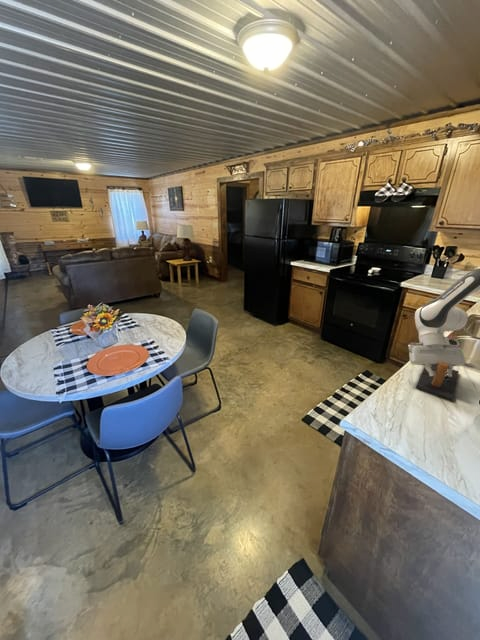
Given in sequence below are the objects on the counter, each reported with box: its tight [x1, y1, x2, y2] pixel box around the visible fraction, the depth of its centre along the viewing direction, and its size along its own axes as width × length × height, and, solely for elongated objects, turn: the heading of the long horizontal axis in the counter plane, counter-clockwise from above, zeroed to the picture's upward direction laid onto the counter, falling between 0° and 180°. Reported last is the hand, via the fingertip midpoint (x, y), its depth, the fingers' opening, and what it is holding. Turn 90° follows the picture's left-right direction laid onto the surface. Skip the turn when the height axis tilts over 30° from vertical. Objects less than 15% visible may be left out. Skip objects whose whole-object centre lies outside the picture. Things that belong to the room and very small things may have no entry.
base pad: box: [421, 366, 459, 385], centre depth 116 cm, size 12×12×2 cm
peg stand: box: [415, 362, 457, 402], centre depth 107 cm, size 16×12×12 cm
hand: (440, 376), depth 105 cm, fingers open, 5 cm apart
